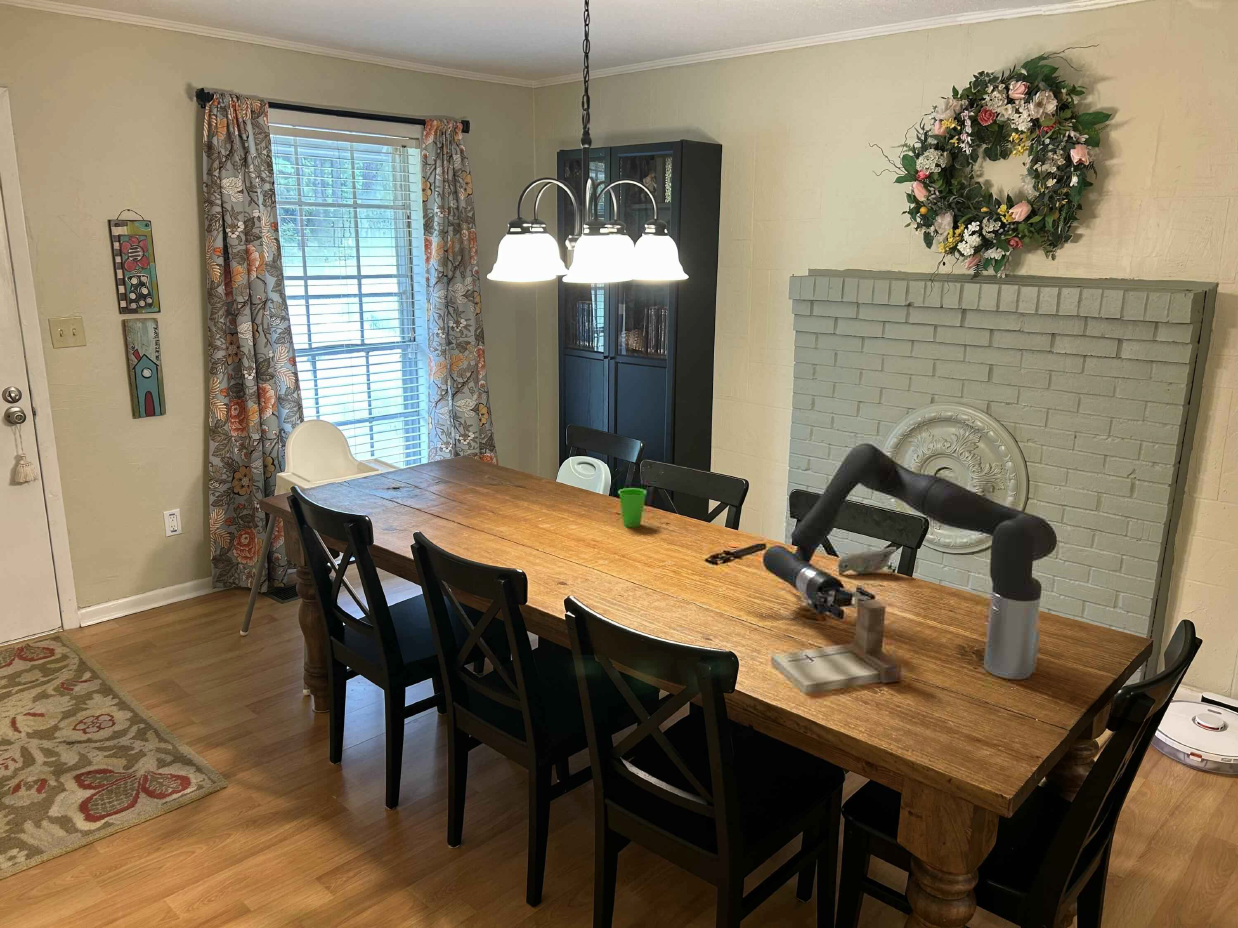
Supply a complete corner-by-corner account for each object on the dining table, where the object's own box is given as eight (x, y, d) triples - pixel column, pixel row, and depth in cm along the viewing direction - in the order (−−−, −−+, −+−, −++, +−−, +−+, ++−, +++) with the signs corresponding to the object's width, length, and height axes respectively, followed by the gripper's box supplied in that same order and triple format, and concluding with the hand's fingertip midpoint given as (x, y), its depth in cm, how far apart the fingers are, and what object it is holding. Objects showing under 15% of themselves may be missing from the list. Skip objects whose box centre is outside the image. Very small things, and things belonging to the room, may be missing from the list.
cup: (652, 525, 289) (652, 491, 286) (632, 531, 282) (633, 497, 280) (631, 519, 295) (631, 486, 292) (611, 525, 288) (612, 491, 286)
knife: (763, 544, 272) (763, 540, 272) (778, 550, 267) (779, 545, 267) (699, 560, 258) (699, 556, 257) (715, 567, 253) (715, 562, 252)
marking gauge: (864, 654, 197) (869, 596, 194) (900, 680, 185) (905, 618, 182) (848, 657, 195) (853, 598, 192) (883, 682, 184) (889, 621, 181)
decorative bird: (834, 571, 249) (836, 545, 247) (890, 569, 251) (892, 543, 249) (841, 578, 244) (843, 552, 242) (898, 576, 246) (900, 550, 244)
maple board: (859, 650, 200) (860, 641, 200) (898, 678, 187) (899, 669, 187) (770, 664, 193) (771, 655, 192) (805, 694, 180) (805, 684, 180)
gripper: (792, 574, 205) (832, 600, 191) (847, 567, 210) (889, 592, 195) (791, 605, 207) (829, 633, 192) (845, 598, 212) (887, 625, 197)
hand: (860, 612), depth 194 cm, fingers open, 8 cm apart
